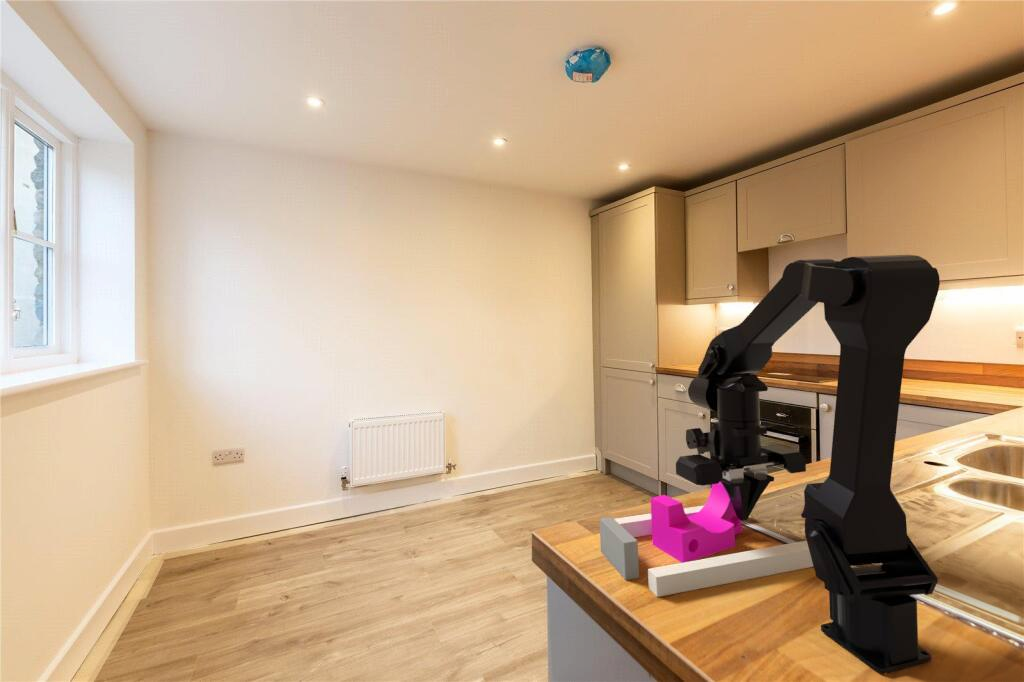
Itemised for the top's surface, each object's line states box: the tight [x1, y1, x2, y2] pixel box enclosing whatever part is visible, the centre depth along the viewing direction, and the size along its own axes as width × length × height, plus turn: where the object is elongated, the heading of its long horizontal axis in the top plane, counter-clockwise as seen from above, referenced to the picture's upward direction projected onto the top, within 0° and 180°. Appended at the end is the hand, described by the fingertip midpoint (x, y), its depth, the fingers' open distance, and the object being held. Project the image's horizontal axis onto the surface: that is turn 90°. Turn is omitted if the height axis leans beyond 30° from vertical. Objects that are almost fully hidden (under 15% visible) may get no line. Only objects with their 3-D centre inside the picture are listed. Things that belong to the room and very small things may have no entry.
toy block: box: [650, 482, 743, 563], centre depth 68 cm, size 15×6×8 cm, turn 114°
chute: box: [598, 505, 814, 598], centre depth 65 cm, size 17×28×5 cm, turn 102°
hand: (742, 519), depth 67 cm, fingers closed
